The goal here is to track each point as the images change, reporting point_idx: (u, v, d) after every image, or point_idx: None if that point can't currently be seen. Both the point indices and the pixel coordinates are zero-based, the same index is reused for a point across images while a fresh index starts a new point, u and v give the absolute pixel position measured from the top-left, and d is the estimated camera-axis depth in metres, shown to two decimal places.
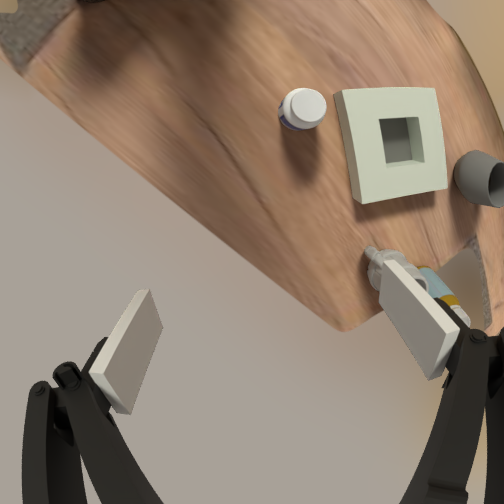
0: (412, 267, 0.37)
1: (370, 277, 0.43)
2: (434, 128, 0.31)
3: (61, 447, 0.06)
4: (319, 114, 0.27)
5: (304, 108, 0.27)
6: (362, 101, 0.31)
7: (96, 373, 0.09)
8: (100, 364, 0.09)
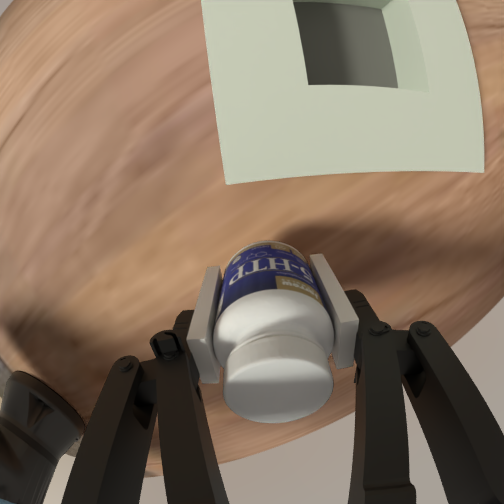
0: None
1: None
2: None
3: (134, 430, 0.07)
4: (314, 377, 0.08)
5: (289, 405, 0.09)
6: (257, 127, 0.12)
7: (196, 339, 0.10)
8: (197, 331, 0.11)
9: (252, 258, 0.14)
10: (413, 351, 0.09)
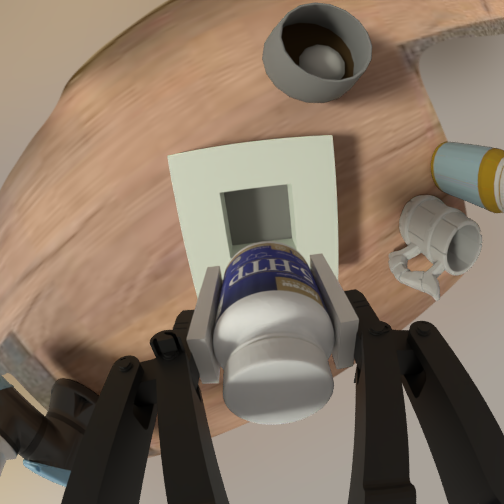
0: (433, 230, 0.25)
1: None
2: (234, 160, 0.25)
3: (134, 430, 0.07)
4: (315, 378, 0.08)
5: (289, 406, 0.09)
6: None
7: (196, 339, 0.10)
8: (197, 331, 0.11)
9: (252, 259, 0.14)
10: (413, 351, 0.09)
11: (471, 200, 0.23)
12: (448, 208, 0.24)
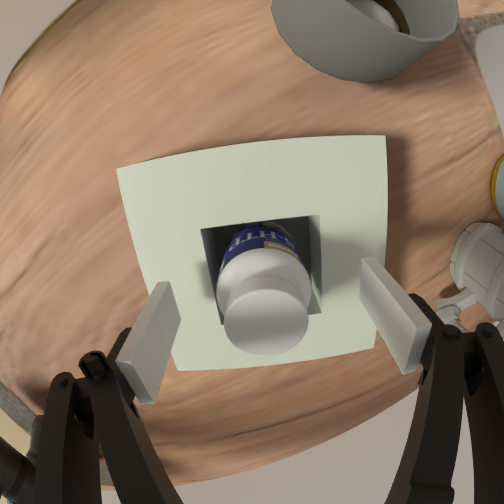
0: (503, 279, 0.14)
1: None
2: (224, 175, 0.15)
3: (80, 440, 0.07)
4: (292, 307, 0.12)
5: (275, 336, 0.13)
6: (191, 347, 0.20)
7: (123, 361, 0.09)
8: (127, 352, 0.10)
9: (247, 232, 0.18)
10: (480, 351, 0.07)
11: None
12: None
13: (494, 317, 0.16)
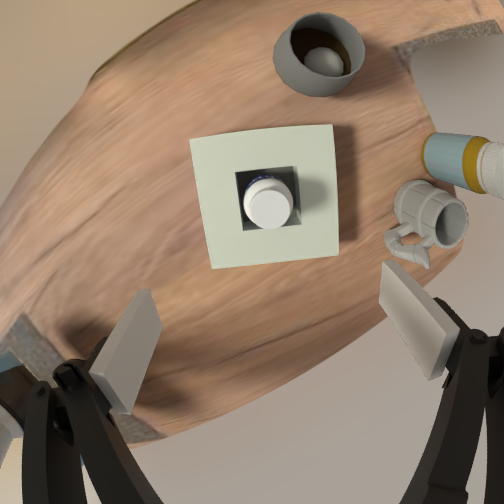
0: (422, 208, 0.28)
1: None
2: (248, 144, 0.29)
3: (61, 447, 0.06)
4: (281, 199, 0.26)
5: (274, 216, 0.27)
6: (223, 248, 0.34)
7: (96, 373, 0.09)
8: (100, 364, 0.09)
9: (258, 176, 0.32)
10: None
11: (458, 183, 0.26)
12: (436, 189, 0.28)
13: (424, 237, 0.30)
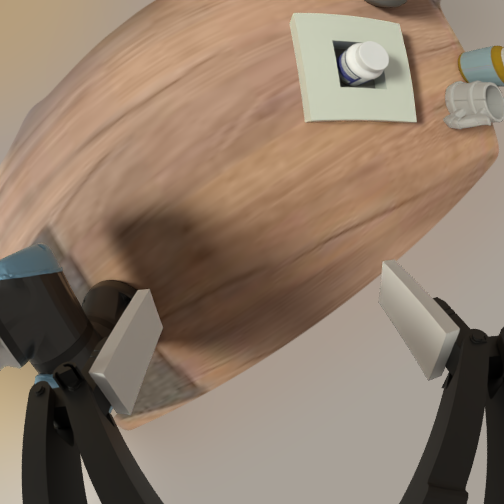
0: (472, 90, 0.25)
1: None
2: (341, 24, 0.26)
3: (61, 447, 0.06)
4: (382, 49, 0.23)
5: (378, 60, 0.24)
6: (322, 100, 0.31)
7: (96, 373, 0.09)
8: (100, 364, 0.09)
9: None
10: None
11: (491, 79, 0.23)
12: None
13: None
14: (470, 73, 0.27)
